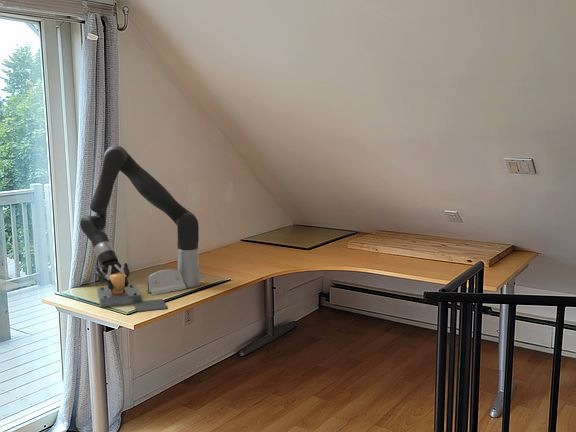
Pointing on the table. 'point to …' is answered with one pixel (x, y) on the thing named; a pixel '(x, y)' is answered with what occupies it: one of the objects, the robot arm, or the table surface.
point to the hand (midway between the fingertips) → (119, 287)
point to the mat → (150, 305)
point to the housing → (118, 296)
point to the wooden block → (118, 282)
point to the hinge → (165, 282)
